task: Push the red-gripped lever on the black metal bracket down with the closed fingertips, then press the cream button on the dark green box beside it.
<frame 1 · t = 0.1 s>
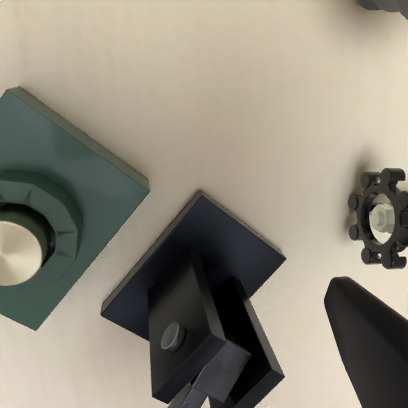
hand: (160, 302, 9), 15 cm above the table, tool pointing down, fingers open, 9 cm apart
bracket: (192, 277, 27), on the table
button: (9, 245, 19), point 5 cm above the table, slide at 0.1 cm
button box: (32, 210, 24), on the table
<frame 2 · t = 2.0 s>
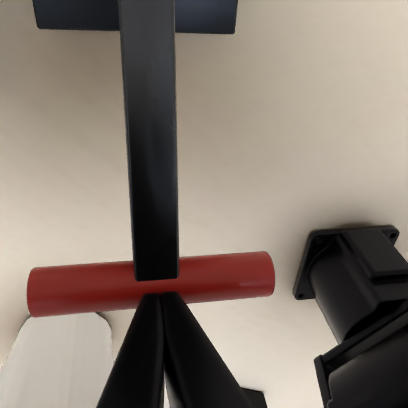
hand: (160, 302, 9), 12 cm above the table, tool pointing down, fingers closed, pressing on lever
cup: (67, 328, 27), on the table
lever: (148, 58, 8), point 9 cm above the table, hinge at 18.9°, touching gripper
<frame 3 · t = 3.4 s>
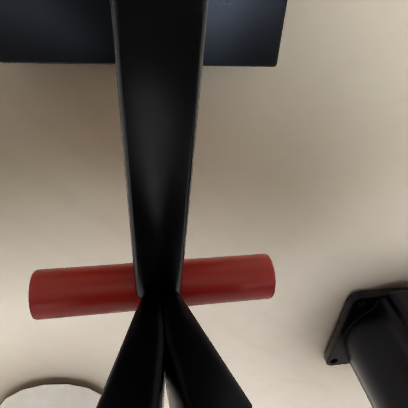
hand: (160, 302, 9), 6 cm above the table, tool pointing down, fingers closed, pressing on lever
cup: (56, 402, 23), on the table
lever: (157, 106, 6), point 7 cm above the table, hinge at -13.0°, touching gripper
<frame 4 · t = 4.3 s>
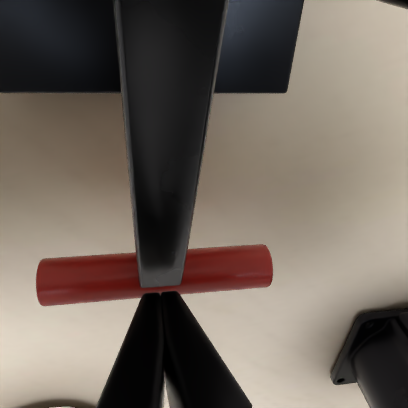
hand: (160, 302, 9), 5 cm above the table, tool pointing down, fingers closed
lever: (163, 132, 6), point 6 cm above the table, hinge at -21.5°
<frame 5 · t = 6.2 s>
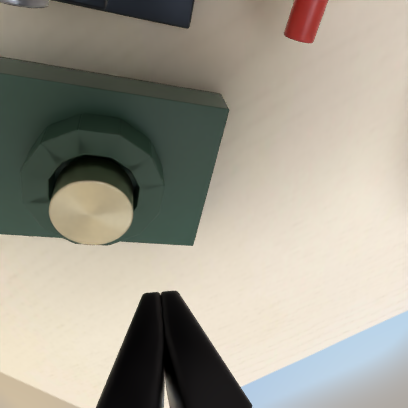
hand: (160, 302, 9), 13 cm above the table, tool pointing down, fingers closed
button: (93, 201, 17), point 5 cm above the table, slide at 0.1 cm
button box: (100, 154, 21), on the table
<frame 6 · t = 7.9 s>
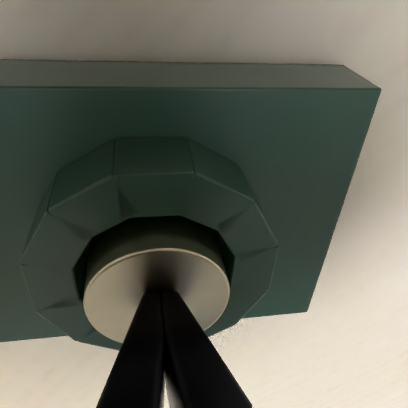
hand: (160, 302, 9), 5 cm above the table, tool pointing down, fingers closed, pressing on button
button: (156, 273, 10), point 4 cm above the table, slide at -0.7 cm, touching gripper
button box: (150, 194, 13), on the table
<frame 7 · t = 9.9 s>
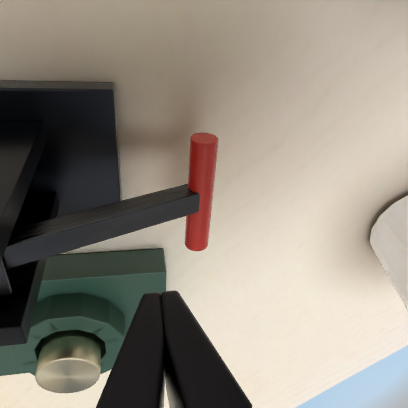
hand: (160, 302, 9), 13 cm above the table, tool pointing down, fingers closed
bracket: (11, 156, 20), on the table
button: (70, 360, 23), point 5 cm above the table, slide at 0.1 cm
cup: (405, 221, 28), on the table
button box: (77, 301, 27), on the table
lever: (87, 227, 15), point 6 cm above the table, hinge at -21.5°
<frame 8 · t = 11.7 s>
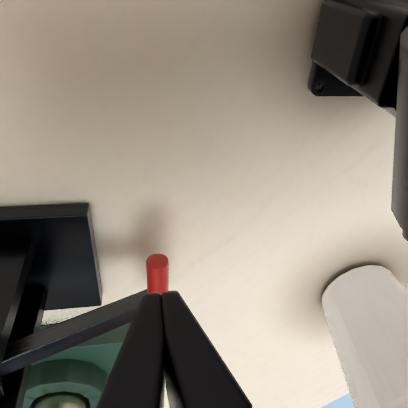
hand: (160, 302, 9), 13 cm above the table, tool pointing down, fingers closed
bracket: (7, 257, 24), on the table
cup: (354, 286, 32), on the table
button box: (67, 357, 31), on the table
lever: (63, 335, 20), point 6 cm above the table, hinge at -21.5°
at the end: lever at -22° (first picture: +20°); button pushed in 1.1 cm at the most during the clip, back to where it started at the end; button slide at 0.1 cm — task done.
